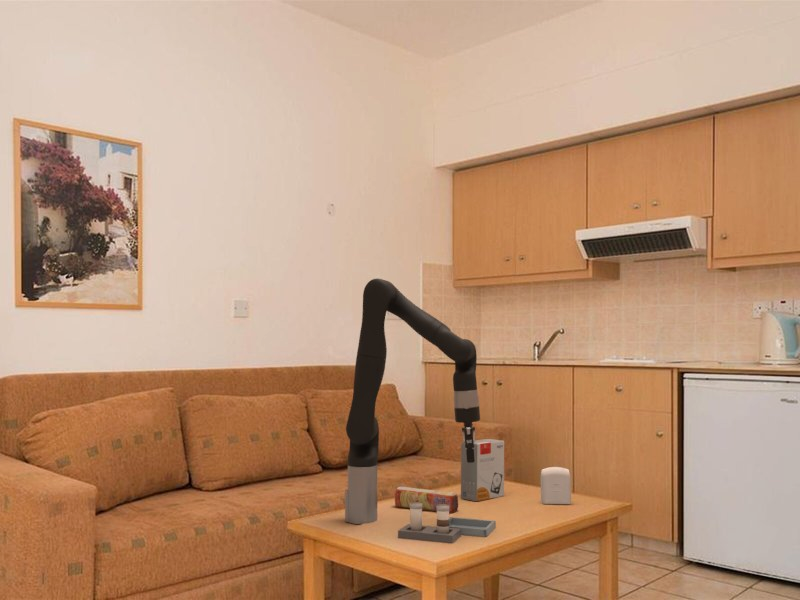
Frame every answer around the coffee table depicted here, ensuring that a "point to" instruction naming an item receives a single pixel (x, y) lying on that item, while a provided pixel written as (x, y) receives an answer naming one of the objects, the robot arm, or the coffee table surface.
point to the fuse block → (429, 534)
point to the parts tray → (472, 526)
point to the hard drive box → (483, 471)
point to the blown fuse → (443, 518)
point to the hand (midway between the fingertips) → (470, 460)
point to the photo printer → (555, 486)
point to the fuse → (416, 516)
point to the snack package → (425, 498)
